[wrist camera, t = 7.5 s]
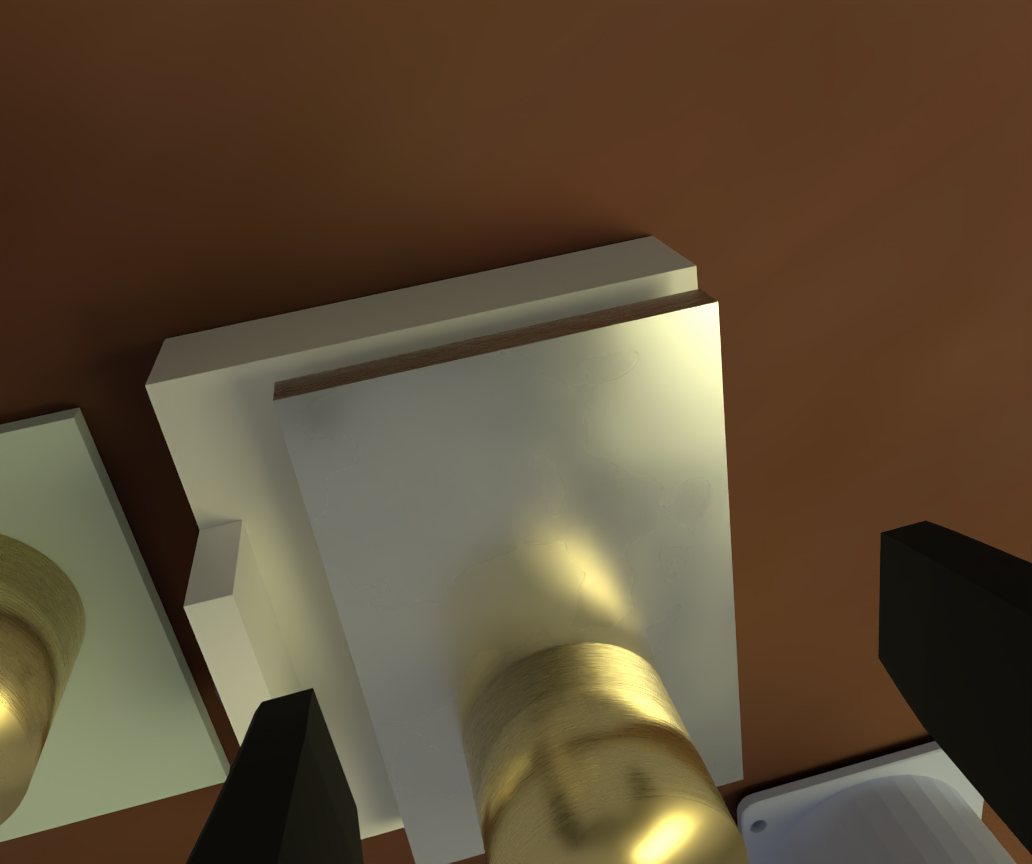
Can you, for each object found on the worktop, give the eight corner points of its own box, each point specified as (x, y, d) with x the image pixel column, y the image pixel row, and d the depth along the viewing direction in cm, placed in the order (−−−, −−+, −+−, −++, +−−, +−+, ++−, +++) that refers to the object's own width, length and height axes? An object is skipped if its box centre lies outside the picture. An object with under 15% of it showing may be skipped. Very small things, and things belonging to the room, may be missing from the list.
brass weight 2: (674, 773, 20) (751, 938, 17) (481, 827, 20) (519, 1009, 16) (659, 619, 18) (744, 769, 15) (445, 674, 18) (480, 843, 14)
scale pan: (718, 735, 22) (743, 779, 21) (411, 820, 21) (418, 872, 20) (687, 279, 17) (718, 301, 15) (276, 369, 16) (273, 400, 14)
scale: (689, 672, 24) (770, 816, 20) (314, 774, 23) (314, 948, 19) (652, 235, 19) (753, 305, 14) (157, 340, 18) (108, 449, 13)
